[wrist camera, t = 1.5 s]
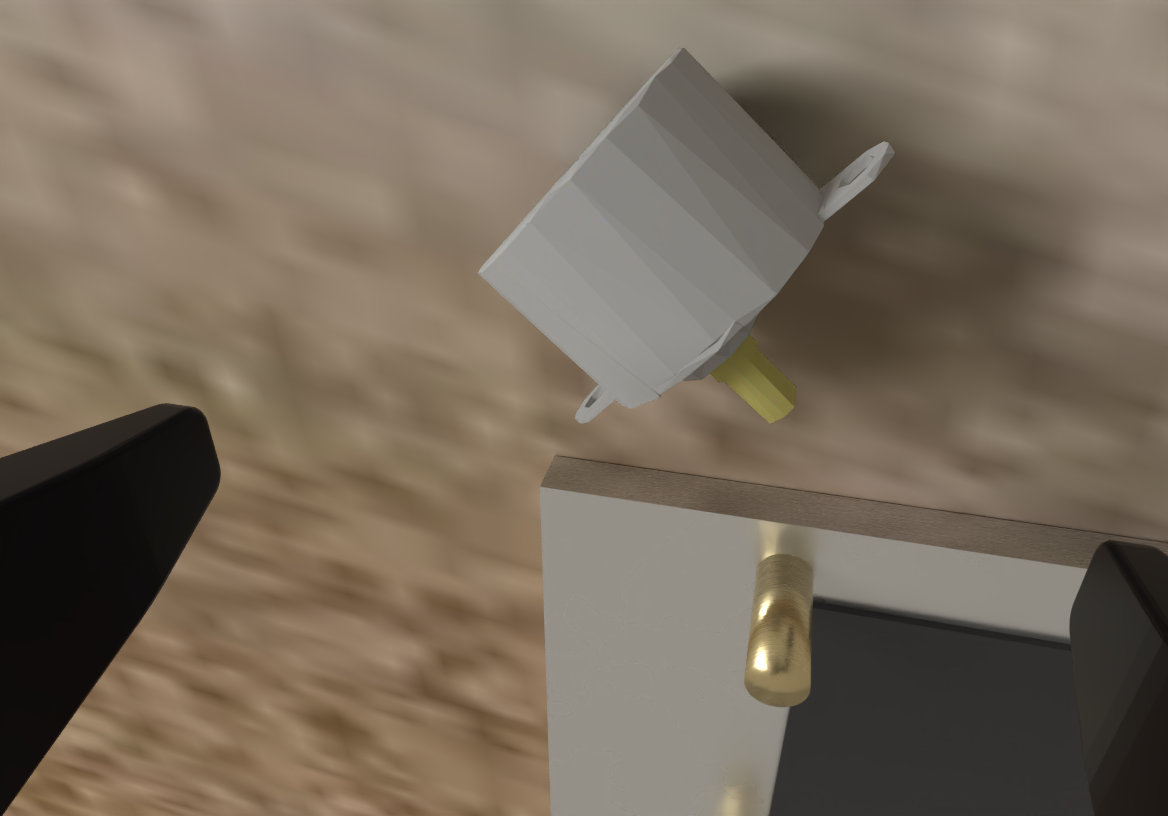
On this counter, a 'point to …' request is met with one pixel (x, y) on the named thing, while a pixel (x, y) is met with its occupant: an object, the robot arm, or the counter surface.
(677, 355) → the electric motor
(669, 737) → the chassis plate
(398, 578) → the counter surface
